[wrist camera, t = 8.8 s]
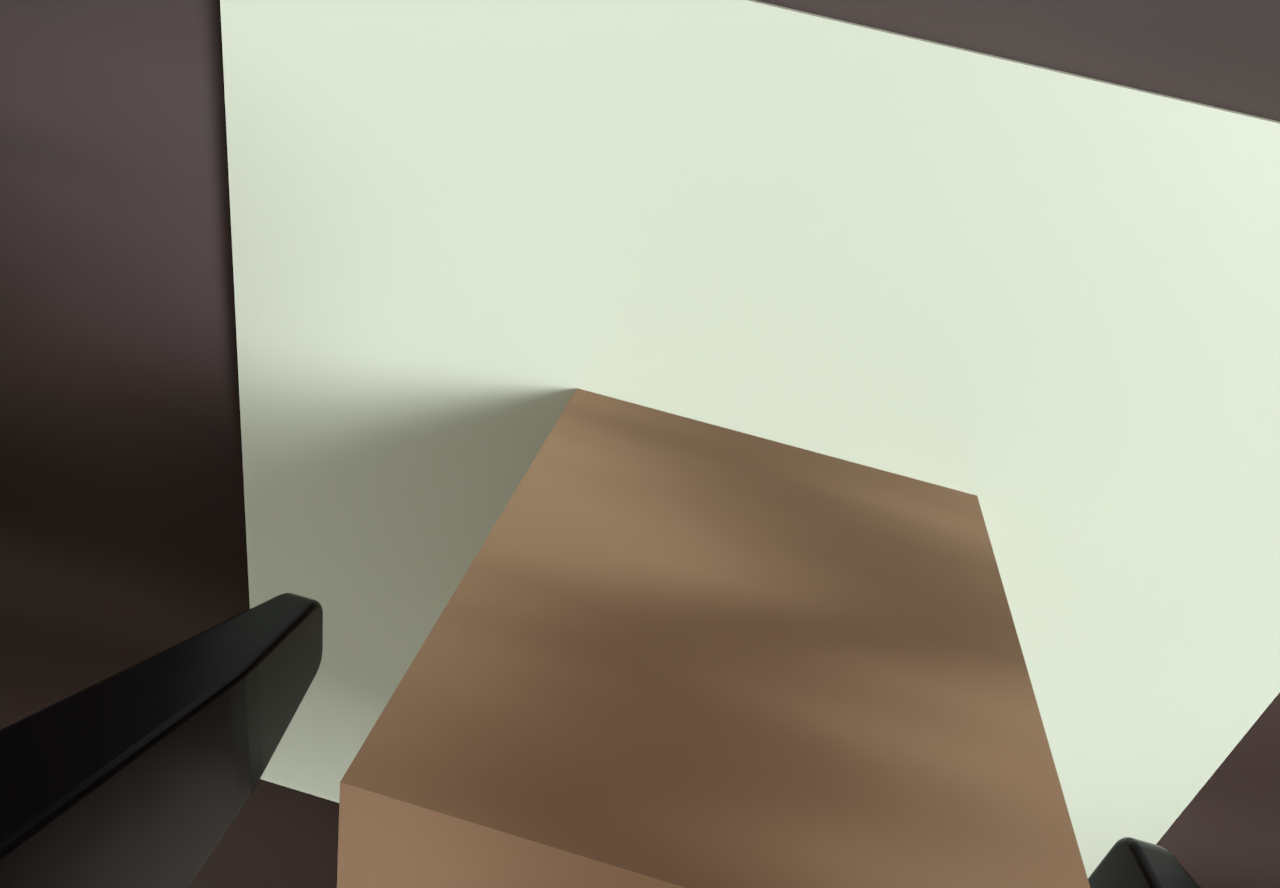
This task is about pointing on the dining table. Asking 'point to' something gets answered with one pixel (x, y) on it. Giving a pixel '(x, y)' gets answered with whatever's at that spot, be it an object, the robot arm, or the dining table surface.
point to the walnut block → (713, 685)
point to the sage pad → (763, 328)
